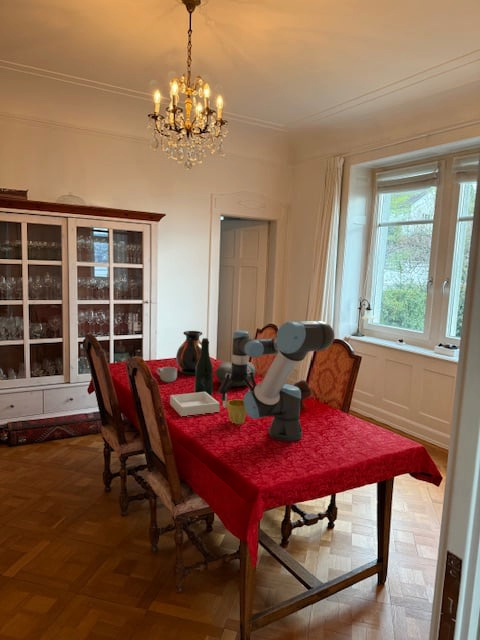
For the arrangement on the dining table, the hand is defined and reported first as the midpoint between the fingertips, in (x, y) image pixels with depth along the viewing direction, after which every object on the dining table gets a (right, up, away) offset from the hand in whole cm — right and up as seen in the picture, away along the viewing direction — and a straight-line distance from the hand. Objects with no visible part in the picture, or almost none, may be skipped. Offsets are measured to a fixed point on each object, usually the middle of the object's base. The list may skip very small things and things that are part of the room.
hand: (237, 405), depth 214 cm
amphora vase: (-32, +5, +88) cm, 94 cm away
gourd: (-2, +1, +64) cm, 64 cm away
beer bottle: (-20, -2, +41) cm, 45 cm away
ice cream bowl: (+35, -6, +28) cm, 45 cm away
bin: (-23, -5, +17) cm, 29 cm away
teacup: (-45, +3, +66) cm, 80 cm away
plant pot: (0, -8, +1) cm, 8 cm away
